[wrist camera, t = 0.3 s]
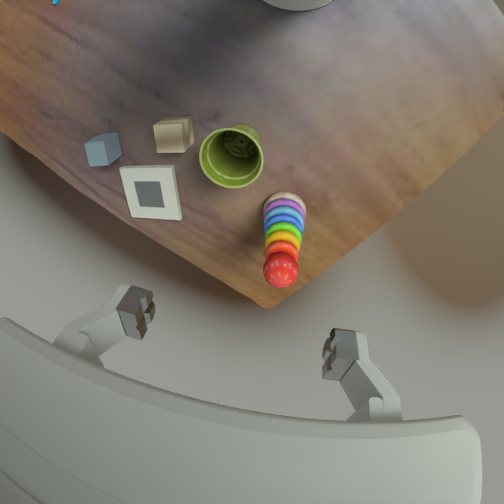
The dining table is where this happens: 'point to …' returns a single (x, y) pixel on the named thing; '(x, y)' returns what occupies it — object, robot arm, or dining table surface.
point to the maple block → (174, 134)
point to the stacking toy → (282, 237)
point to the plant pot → (232, 156)
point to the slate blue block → (103, 149)
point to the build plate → (151, 191)
